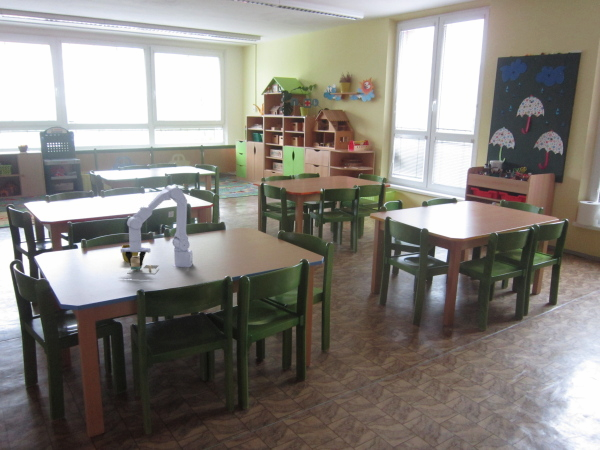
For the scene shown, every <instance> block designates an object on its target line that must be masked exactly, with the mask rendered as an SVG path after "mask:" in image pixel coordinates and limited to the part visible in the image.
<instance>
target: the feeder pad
mask: <svg viewBox="0 0 600 450" xmlns="http://www.w3.org/2000/svg"><path fill="white" fill-rule="evenodd" d="M149 265H151V264H145V265H144V266H143V267H142V268H149ZM159 266H160V265H158V264H157V265H156V264H155V265H151V269H158V267H159Z"/></svg>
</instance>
